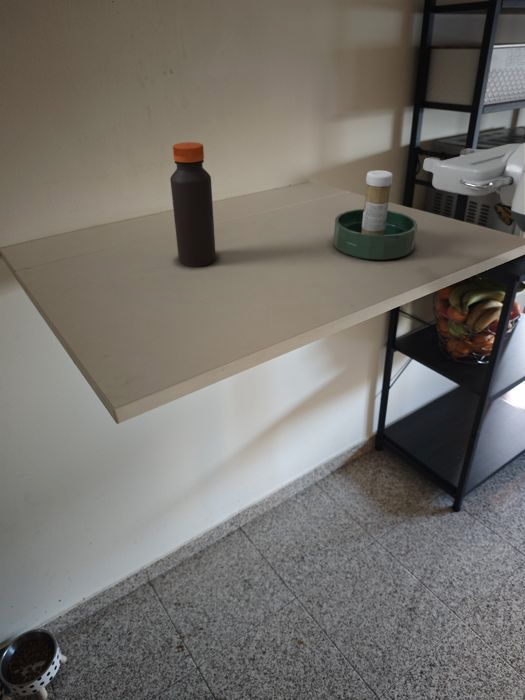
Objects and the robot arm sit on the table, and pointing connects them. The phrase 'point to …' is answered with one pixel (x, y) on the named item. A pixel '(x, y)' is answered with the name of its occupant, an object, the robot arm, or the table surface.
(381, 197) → the sprinkles bottle
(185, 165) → the vinegar
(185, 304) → the table surface
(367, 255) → the green faceted bowl
